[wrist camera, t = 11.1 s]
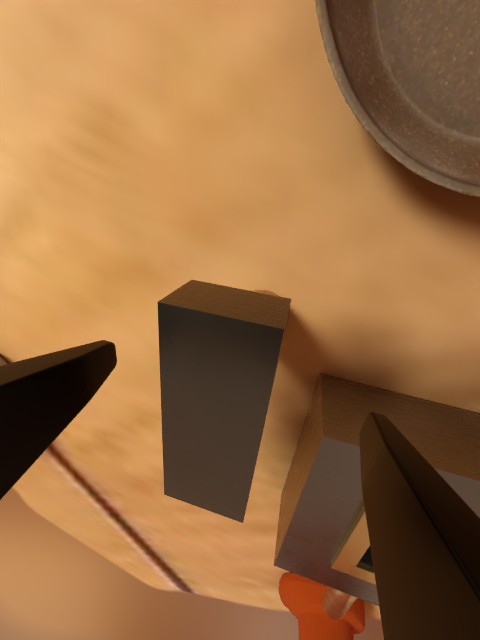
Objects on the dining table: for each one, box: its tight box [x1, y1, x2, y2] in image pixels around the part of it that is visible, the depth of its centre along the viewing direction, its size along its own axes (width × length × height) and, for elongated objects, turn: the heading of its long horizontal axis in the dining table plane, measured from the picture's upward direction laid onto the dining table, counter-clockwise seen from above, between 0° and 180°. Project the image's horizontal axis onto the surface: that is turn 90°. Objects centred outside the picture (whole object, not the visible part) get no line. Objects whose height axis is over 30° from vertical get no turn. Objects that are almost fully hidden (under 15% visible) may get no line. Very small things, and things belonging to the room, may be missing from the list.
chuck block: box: [274, 374, 480, 620], centre depth 16 cm, size 12×20×5 cm, turn 173°
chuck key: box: [158, 280, 291, 523], centre depth 11 cm, size 3×7×8 cm, turn 174°
